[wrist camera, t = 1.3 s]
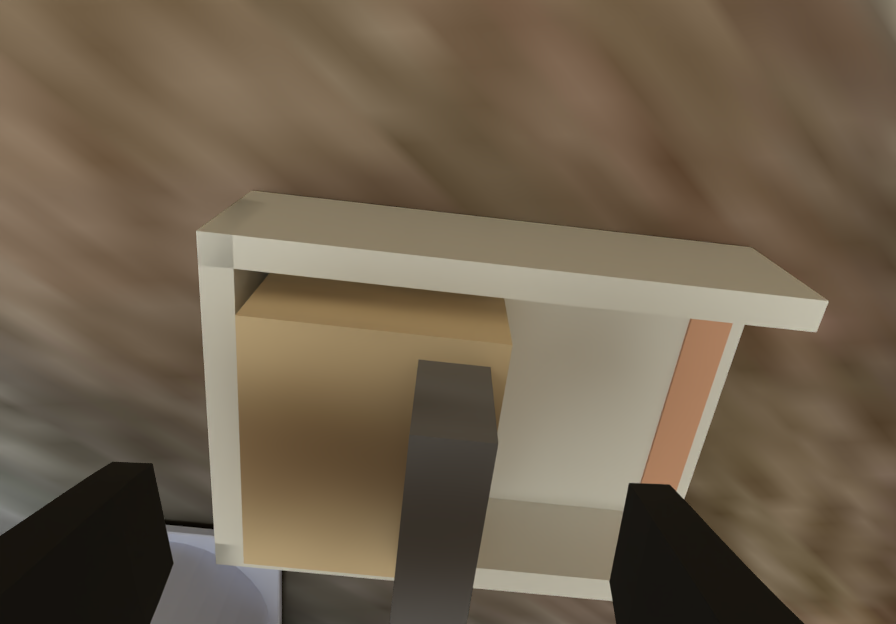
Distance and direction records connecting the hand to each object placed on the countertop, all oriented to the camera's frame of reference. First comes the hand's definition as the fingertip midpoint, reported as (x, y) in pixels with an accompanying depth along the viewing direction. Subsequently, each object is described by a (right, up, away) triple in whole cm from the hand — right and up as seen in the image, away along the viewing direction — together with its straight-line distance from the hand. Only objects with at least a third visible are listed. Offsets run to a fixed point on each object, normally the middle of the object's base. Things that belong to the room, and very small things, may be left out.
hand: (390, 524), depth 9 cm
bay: (+2, +1, +10) cm, 10 cm away
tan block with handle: (-1, +1, +9) cm, 9 cm away
